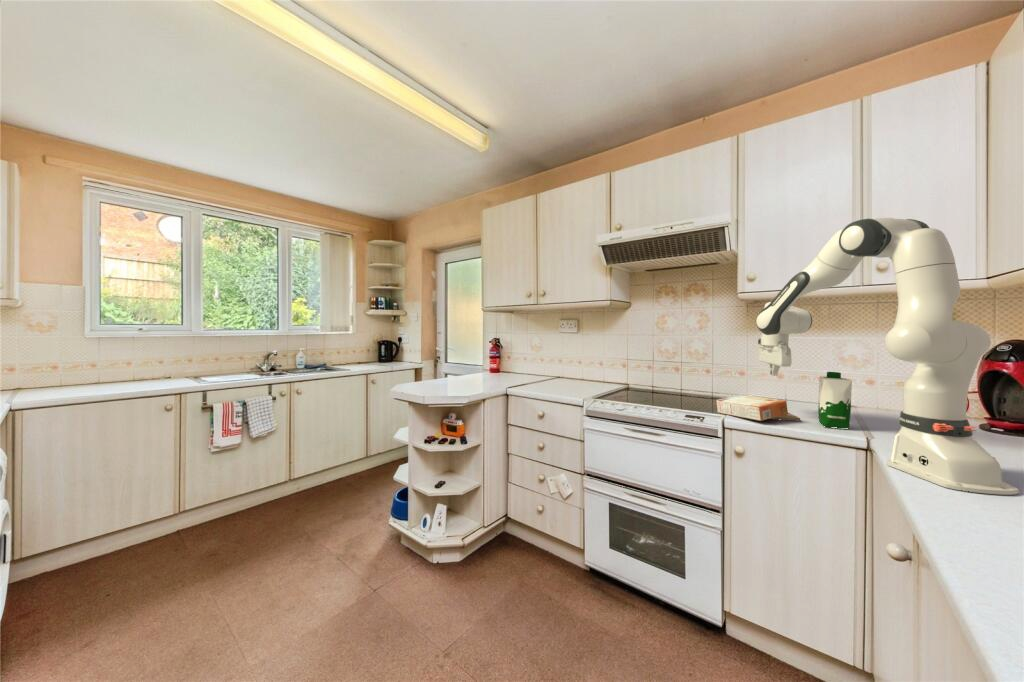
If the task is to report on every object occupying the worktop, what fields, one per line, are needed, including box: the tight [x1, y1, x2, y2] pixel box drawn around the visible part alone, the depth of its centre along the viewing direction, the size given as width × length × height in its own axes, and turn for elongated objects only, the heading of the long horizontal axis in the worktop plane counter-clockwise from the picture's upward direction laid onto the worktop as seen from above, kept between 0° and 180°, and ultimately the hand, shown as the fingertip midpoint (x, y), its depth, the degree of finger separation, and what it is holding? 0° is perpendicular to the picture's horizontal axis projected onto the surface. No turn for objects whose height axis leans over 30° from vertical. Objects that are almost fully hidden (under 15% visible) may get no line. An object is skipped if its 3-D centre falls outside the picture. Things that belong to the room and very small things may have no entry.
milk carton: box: [817, 371, 853, 430], centre depth 138 cm, size 9×9×20 cm
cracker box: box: [715, 394, 789, 422], centre depth 153 cm, size 14×6×21 cm
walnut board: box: [771, 412, 801, 421], centre depth 158 cm, size 20×16×1 cm
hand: (773, 375), depth 151 cm, fingers closed
